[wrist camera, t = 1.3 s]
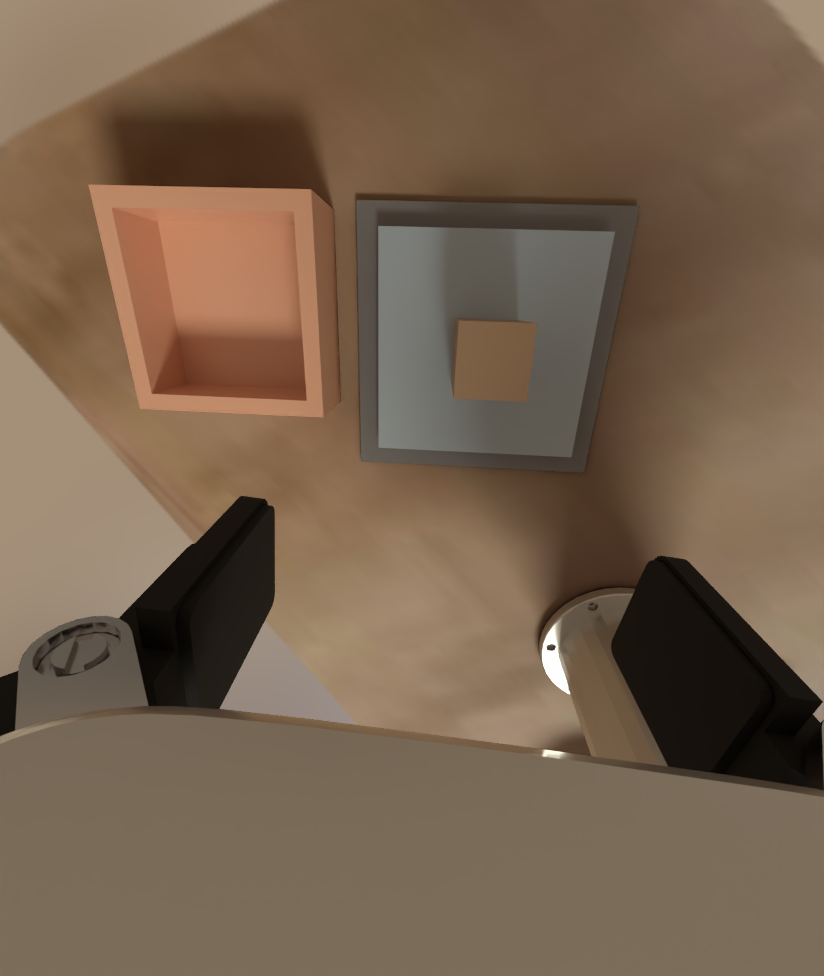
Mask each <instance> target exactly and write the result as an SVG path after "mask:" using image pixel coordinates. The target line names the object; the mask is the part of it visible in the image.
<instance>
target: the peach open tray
mask: <svg viewBox="0 0 824 976" xmlns="http://www.w3.org/2000/svg"><path fill="white" fill-rule="evenodd" d="M89 189H90V193H91V197H92V202H93V206H94V210H95V215H96V219H97V223H98V228H99V232H100V236H101V241H102V245H103V249H104V254H105V258H106V263H107V267H108V271H109V276H110V280H111V284H112V289H113V293H114V297H115V302H116V306H117V310H118V315H119V319H120V323H121V328H122V332H123V336H124V341H125V345H126V349H127V354H128V358H129V363H130V367H131V371H132V376H133V380H134V384H135V389H136V393H137V397H138V402H139V406H140V409H156V410H177V411H199V412H220V413H242V414H263V415H284V416H306V417H324V416H325V415H327V414H328V413H329V412H330V411H331V410H332V409H333V408H334V407H335V406H336V405H337V404H339V403H340V402H341V389H340V361H339V334H338V307H337V280H336V253H335V226H334V210H333V209H332V208H331V207H330V206H329V205H328V204H327V203H325V202H324V201H323V200H322V199H321V198H320V197H319V196H318V195H317V194H316V193H315V192H314V191H312V190H311V189H274V188H226V187H177V186H128V185H89Z"/></svg>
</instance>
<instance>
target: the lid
mask: <svg viewBox="0 0 824 976" xmlns="http://www.w3.org/2000/svg"><path fill="white" fill-rule="evenodd" d="M614 234H615V232H606V231H565V230H525V229H484V228H443V227H402V226H378V427H379V448H396V449H416V450H436V451H456V452H476V453H496V454H516V455H536V456H556V457H572V451H573V446H574V441H575V436H576V431H577V426H578V420H579V415H580V410H581V405H582V400H583V395H584V389H585V384H586V379H587V374H588V369H589V364H590V358H591V353H592V348H593V343H594V338H595V333H596V327H597V322H598V317H599V312H600V307H601V302H602V296H603V291H604V286H605V281H606V276H607V270H608V265H609V260H610V255H611V250H612V245H613V239H614Z"/></svg>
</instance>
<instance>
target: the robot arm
mask: <svg viewBox="0 0 824 976" xmlns="http://www.w3.org/2000/svg"><path fill="white" fill-rule="evenodd" d="M274 596H275V514H274V507H273V506H268V504H267V501H266V500H265V499H260V498H253V497H246V496H241V497H239V498H238V499H237V500H236V501H235V502H234V504H233V505H232V506H231V507H230V508H229V509H228V510H227V511H226V512H225V513H224V514H223V515H222V516H221V517H220V518H219V519H218V520H217V521H216V522H215V523H214V524H213V526H212V527H211V528H210V529H209V530H208V531H207V532H206V533H205V534H204V535H203V536H202V537H201V538H200V539H199V540H198V541H197V542H196V543H195V544H192V545H190V546H189V547H188V548H186V550H185V551H184V552H183V553H182V554H181V555H180V556H179V557H178V558H177V559H176V560H175V561H174V562H173V563H172V564H171V565H170V566H169V567H168V568H167V569H166V570H165V571H164V572H163V573H162V574H161V575H160V576H159V577H158V578H157V579H156V580H155V581H154V583H153V584H152V585H151V586H150V587H149V588H148V589H147V590H146V591H145V592H144V593H143V594H142V595H141V596H140V597H139V598H138V599H137V600H136V601H135V602H134V603H133V604H132V605H131V606H130V607H129V608H128V609H127V610H126V611H125V612H124V613H123V615H122V616H121V617H120V618H114V617H109V616H92V617H87V618H82V619H77V620H74V621H71V622H68V623H65V624H63V625H60V626H58V627H56V628H54V629H52V630H51V631H49V632H47V633H45V634H43V635H42V636H41V637H40V638H38V639H37V640H36V641H35V642H33V643H32V644H31V645H30V646H29V648H28V649H27V650H26V651H25V652H24V654H23V655H22V658H21V661H20V664H19V670H18V671H17V672H14V673H11V674H8V675H5V676H3V677H0V976H824V720H823V721H822V722H821V723H820V722H819V721H818V720H817V719H816V717H815V716H814V715H813V713H814V712H815V711H816V709H817V708H818V707H819V706H820V705H821V703H822V702H823V701H822V700H821V699H820V698H819V697H818V696H817V695H816V694H815V693H814V692H813V691H812V690H811V689H810V688H809V687H808V686H807V685H806V684H805V683H804V682H803V681H802V680H801V679H800V678H799V676H798V675H797V674H796V673H795V672H794V671H793V670H792V669H791V668H790V667H789V666H788V665H787V664H786V663H785V662H784V661H783V660H782V659H781V658H780V657H779V656H778V655H777V654H776V652H775V651H774V650H773V649H772V648H771V647H770V646H769V645H768V644H767V643H766V642H765V641H764V640H763V639H762V638H761V637H760V636H759V635H758V634H757V633H756V632H755V631H754V630H753V629H752V627H751V626H750V625H749V624H748V623H747V622H746V621H745V620H744V619H743V618H742V617H741V616H740V615H739V614H738V613H737V612H736V611H735V610H734V609H733V608H732V607H731V606H730V605H729V603H728V602H727V601H726V600H725V599H724V598H723V597H722V596H721V595H720V594H719V593H718V592H717V591H716V590H715V589H714V588H713V587H712V586H711V585H710V584H709V583H708V582H707V581H706V580H705V578H704V577H703V576H702V575H701V574H700V573H699V572H698V571H697V570H696V569H695V568H694V567H693V566H692V565H691V564H690V563H689V562H688V561H687V560H685V559H680V558H673V557H666V556H658V557H657V558H655V559H654V561H653V560H652V561H649V562H648V563H647V565H646V567H645V569H644V571H643V573H642V576H641V578H640V580H639V582H638V584H637V587H636V589H634V588H620V587H618V588H607V589H601V590H597V591H593V592H589V593H587V594H584V595H582V596H579V597H577V598H575V599H573V600H571V601H570V602H568V603H566V604H565V605H564V606H562V607H561V608H560V609H559V610H558V611H556V612H555V613H554V614H553V616H552V617H551V618H550V619H549V621H548V622H547V623H546V625H545V627H544V629H543V631H542V634H541V638H540V642H539V653H540V657H541V661H542V665H543V667H544V670H545V672H546V674H547V675H548V677H549V678H550V680H551V681H552V682H553V683H554V684H555V685H556V686H557V687H559V688H560V689H561V690H563V691H565V692H566V693H568V694H570V695H571V698H572V701H573V704H574V707H575V710H576V713H577V716H578V719H579V722H580V725H581V728H582V731H583V734H584V737H585V740H586V743H587V746H588V749H589V752H590V755H591V756H588V755H581V754H573V753H566V752H558V751H551V750H544V749H536V748H529V747H521V746H514V745H506V744H499V743H491V742H484V741H476V740H469V739H461V738H454V737H446V736H439V735H431V734H423V733H415V732H407V731H400V730H392V729H384V728H376V727H368V726H361V725H352V724H344V723H337V722H329V721H321V720H314V719H305V718H296V717H287V716H278V715H269V714H260V713H251V712H242V711H233V710H224V709H219V708H220V706H221V704H222V703H223V700H224V699H225V696H226V695H227V693H228V691H229V689H230V687H231V685H232V683H233V681H234V679H235V677H236V675H237V673H238V671H239V669H240V668H241V666H242V664H243V662H244V660H245V658H246V656H247V654H248V652H249V650H250V648H251V646H252V644H253V642H254V640H255V638H256V636H257V635H258V633H259V631H260V629H261V627H262V625H263V623H264V621H265V619H266V617H267V615H268V613H269V611H270V609H271V607H272V604H273V601H274Z"/></svg>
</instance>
